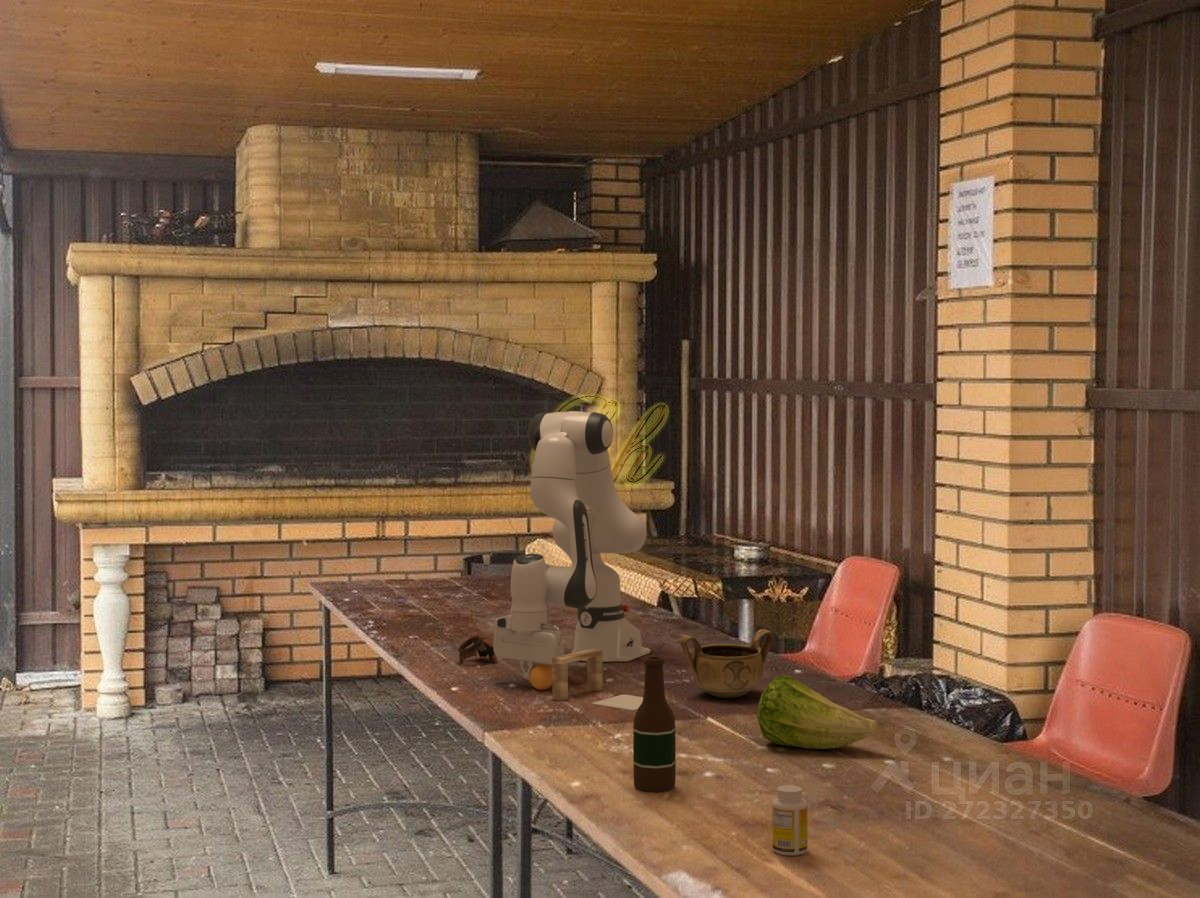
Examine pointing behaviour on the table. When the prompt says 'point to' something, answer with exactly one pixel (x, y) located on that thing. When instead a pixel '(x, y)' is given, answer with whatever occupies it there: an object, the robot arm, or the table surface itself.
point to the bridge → (562, 672)
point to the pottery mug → (477, 648)
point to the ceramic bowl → (728, 665)
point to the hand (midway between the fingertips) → (528, 679)
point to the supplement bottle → (789, 821)
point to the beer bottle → (654, 734)
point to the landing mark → (622, 702)
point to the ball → (541, 677)
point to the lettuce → (807, 717)
